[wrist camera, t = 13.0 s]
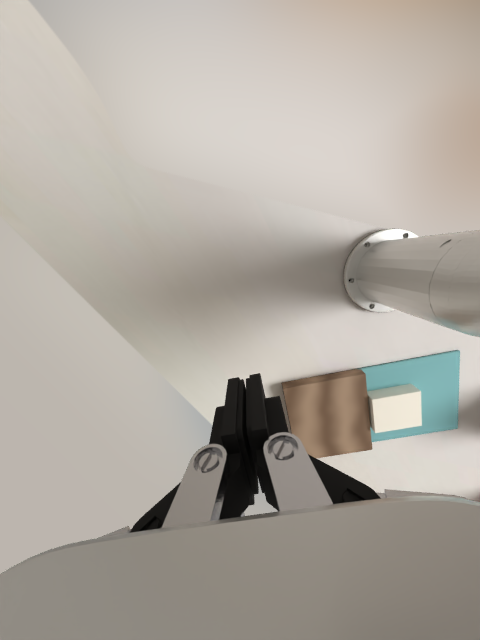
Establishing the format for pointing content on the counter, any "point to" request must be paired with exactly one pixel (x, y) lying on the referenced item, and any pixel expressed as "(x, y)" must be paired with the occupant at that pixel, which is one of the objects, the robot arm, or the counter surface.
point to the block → (394, 408)
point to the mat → (422, 390)
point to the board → (330, 413)
